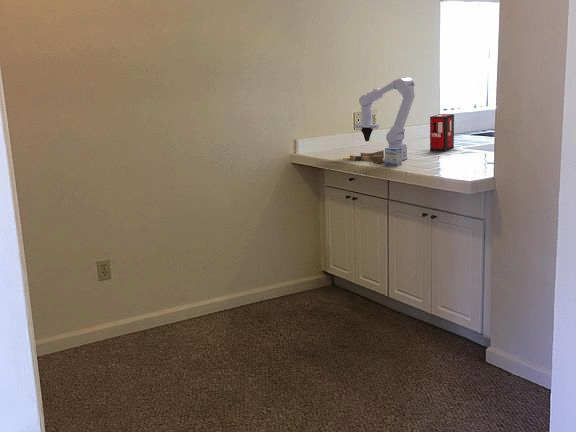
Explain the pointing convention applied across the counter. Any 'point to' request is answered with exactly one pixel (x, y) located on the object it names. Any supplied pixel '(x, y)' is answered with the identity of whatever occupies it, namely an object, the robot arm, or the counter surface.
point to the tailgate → (347, 157)
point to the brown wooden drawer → (367, 156)
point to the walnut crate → (378, 159)
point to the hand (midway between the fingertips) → (367, 141)
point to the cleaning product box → (442, 132)
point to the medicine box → (393, 156)
